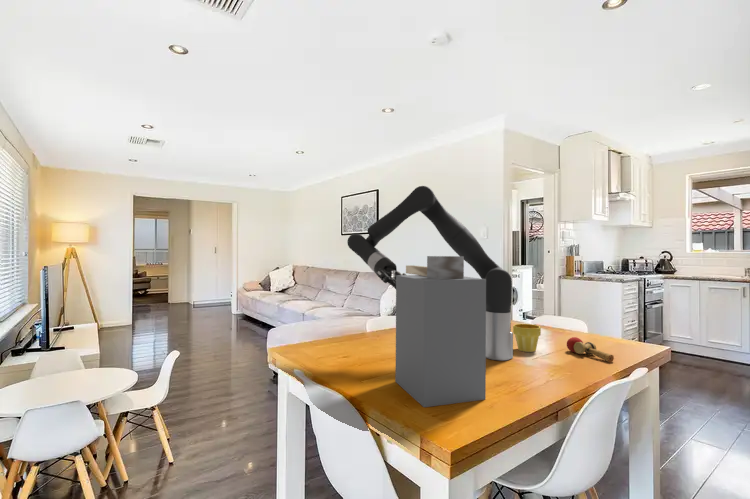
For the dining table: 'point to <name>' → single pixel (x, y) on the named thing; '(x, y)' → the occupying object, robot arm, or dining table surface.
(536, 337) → the plant pot
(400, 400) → the dining table surface
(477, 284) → the tall grey box
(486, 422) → the dining table surface
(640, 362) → the dining table surface
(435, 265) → the tan and grey block
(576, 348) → the kendama
